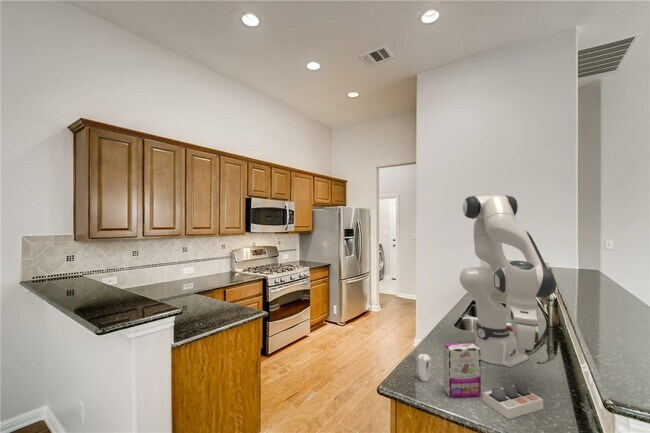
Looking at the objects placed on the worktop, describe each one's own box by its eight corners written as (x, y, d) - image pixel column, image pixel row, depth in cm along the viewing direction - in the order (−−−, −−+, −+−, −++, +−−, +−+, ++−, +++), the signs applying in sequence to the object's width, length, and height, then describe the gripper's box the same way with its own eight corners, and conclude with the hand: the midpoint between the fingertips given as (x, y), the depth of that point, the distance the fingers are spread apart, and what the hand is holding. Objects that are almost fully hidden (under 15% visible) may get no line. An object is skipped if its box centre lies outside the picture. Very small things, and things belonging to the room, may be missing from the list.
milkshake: (415, 381, 109) (415, 354, 109) (419, 374, 113) (420, 348, 113) (428, 385, 106) (428, 357, 106) (431, 378, 111) (432, 352, 111)
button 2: (519, 390, 100) (519, 381, 100) (530, 396, 97) (530, 387, 97) (511, 392, 99) (511, 383, 99) (522, 398, 95) (522, 389, 95)
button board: (516, 393, 102) (516, 383, 102) (543, 409, 93) (543, 398, 93) (483, 401, 97) (483, 391, 97) (508, 419, 89) (508, 408, 89)
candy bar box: (472, 388, 104) (473, 342, 105) (481, 397, 99) (481, 348, 100) (442, 389, 104) (442, 343, 104) (449, 398, 99) (449, 349, 99)
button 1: (497, 395, 97) (497, 386, 97) (508, 402, 93) (508, 393, 93) (488, 397, 96) (488, 388, 96) (499, 404, 92) (499, 395, 92)
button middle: (508, 392, 99) (508, 383, 99) (519, 399, 95) (519, 390, 95) (500, 395, 97) (500, 385, 97) (510, 401, 94) (510, 392, 94)
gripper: (506, 301, 109) (506, 338, 109) (514, 318, 90) (514, 363, 90) (527, 303, 106) (526, 342, 106) (539, 321, 88) (539, 368, 87)
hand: (521, 352), depth 98 cm, fingers closed
